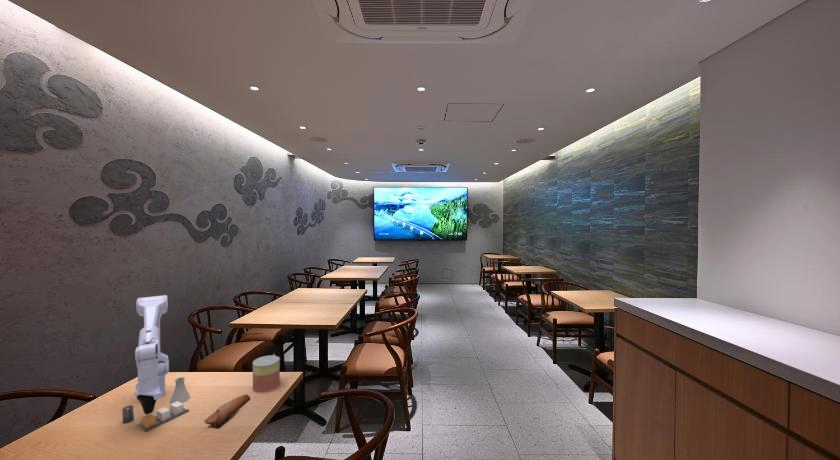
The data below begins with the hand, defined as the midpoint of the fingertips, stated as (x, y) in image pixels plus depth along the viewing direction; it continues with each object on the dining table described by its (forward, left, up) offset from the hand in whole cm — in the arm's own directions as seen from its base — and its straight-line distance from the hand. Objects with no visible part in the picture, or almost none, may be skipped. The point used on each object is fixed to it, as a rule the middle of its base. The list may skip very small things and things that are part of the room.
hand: (148, 412), depth 116 cm
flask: (-8, +14, -6) cm, 17 cm away
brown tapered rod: (+16, +18, -6) cm, 25 cm away
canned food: (+12, +40, -6) cm, 42 cm away
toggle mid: (0, +5, -4) cm, 6 cm away
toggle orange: (0, 0, -4) cm, 4 cm away
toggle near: (0, +9, -4) cm, 10 cm away
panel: (0, +5, -5) cm, 7 cm away
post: (-10, -2, -5) cm, 11 cm away
